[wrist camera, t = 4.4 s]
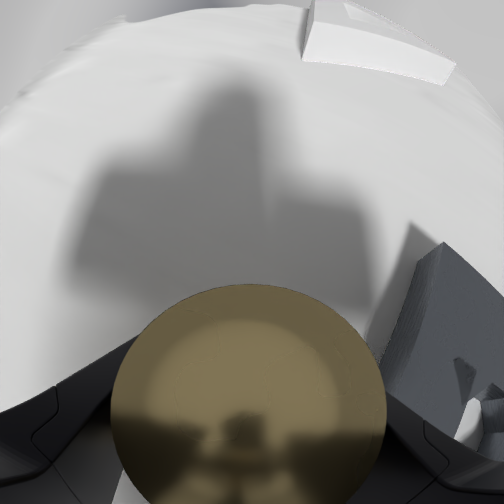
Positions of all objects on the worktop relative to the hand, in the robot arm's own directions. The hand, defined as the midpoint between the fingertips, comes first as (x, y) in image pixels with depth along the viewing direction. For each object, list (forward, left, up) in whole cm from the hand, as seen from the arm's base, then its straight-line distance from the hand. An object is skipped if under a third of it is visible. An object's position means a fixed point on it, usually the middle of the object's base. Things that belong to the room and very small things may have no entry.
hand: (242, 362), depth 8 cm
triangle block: (+39, +22, -7) cm, 46 cm away
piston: (-1, -1, -7) cm, 7 cm away
